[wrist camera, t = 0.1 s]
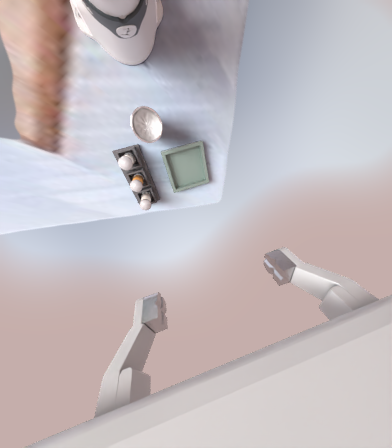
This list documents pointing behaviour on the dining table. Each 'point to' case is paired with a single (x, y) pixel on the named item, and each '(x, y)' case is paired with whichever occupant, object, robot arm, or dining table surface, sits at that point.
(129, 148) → the fuse block
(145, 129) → the beer glass
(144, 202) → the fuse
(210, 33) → the dining table surface
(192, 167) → the parts tray
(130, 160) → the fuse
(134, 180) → the cylinder
